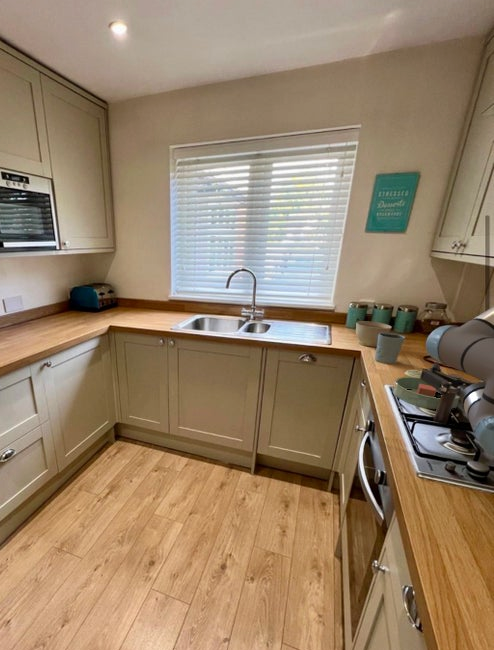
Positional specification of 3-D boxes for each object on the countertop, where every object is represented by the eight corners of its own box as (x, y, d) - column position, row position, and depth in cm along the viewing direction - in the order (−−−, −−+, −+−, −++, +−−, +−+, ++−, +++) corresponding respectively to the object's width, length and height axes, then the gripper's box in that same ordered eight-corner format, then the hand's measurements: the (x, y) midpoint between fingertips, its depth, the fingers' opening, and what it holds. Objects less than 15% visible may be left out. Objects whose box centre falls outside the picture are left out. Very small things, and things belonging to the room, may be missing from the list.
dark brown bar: (445, 421, 98) (461, 375, 93) (446, 426, 96) (463, 378, 90) (432, 418, 100) (447, 372, 94) (433, 423, 97) (448, 376, 92)
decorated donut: (417, 375, 134) (420, 367, 132) (443, 386, 124) (446, 377, 123) (397, 378, 131) (399, 369, 129) (422, 388, 121) (425, 379, 120)
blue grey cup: (369, 360, 151) (375, 334, 146) (376, 355, 158) (382, 331, 153) (394, 366, 144) (401, 339, 140) (400, 360, 151) (407, 335, 147)
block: (431, 398, 112) (434, 386, 111) (432, 403, 109) (436, 391, 107) (415, 395, 114) (419, 383, 113) (416, 399, 111) (420, 387, 109)
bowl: (452, 395, 116) (456, 384, 114) (460, 417, 101) (465, 404, 100) (392, 384, 125) (395, 373, 123) (392, 402, 110) (395, 390, 108)
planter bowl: (386, 350, 165) (391, 329, 161) (350, 345, 173) (354, 325, 169) (386, 343, 178) (391, 323, 174) (354, 338, 186) (358, 319, 182)
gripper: (407, 406, 72) (404, 376, 89) (569, 441, 60) (530, 399, 77) (417, 374, 69) (412, 349, 86) (589, 404, 57) (543, 369, 74)
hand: (468, 372), depth 81 cm, fingers open, 13 cm apart
